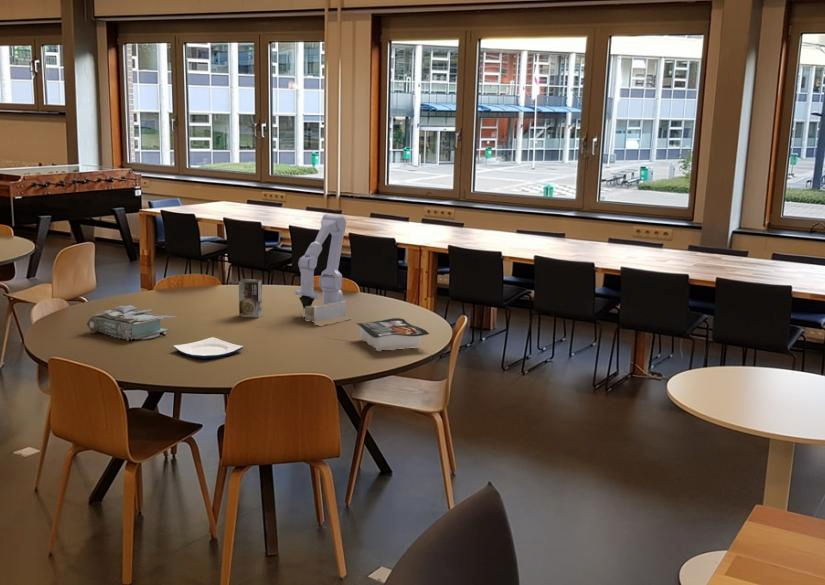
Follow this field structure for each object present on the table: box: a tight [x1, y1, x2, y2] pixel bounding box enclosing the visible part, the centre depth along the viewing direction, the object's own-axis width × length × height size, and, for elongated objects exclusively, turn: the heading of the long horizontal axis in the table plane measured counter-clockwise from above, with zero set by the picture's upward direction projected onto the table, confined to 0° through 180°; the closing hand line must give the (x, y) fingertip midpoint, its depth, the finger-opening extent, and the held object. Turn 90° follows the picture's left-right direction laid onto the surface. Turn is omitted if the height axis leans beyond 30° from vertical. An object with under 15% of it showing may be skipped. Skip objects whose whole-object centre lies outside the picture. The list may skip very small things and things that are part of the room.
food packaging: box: [355, 317, 430, 352], centre depth 336 cm, size 25×8×23 cm
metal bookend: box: [313, 300, 347, 324], centre depth 368 cm, size 19×4×8 cm, turn 141°
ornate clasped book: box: [86, 304, 176, 342], centre depth 338 cm, size 23×10×30 cm
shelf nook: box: [304, 303, 331, 321], centre depth 372 cm, size 14×8×6 cm, turn 141°
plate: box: [172, 336, 244, 360], centre depth 316 cm, size 20×20×3 cm
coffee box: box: [238, 278, 263, 318], centre depth 373 cm, size 9×6×16 cm
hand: (306, 312), depth 379 cm, fingers closed
